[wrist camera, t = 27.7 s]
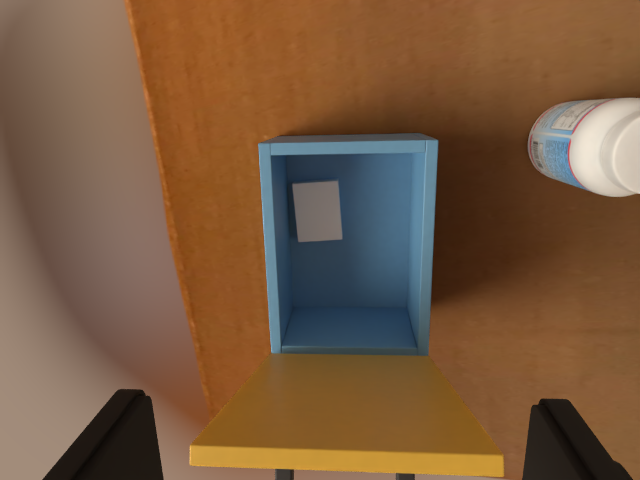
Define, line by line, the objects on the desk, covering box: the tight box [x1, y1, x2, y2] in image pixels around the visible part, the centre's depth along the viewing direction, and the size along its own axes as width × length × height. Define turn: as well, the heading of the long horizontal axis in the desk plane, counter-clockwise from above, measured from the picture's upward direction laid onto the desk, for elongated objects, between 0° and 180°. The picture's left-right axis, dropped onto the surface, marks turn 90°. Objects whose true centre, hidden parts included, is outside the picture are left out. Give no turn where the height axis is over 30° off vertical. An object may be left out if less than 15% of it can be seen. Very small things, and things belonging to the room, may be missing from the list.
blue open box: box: [258, 133, 438, 356], centre depth 35 cm, size 16×12×8 cm
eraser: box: [292, 178, 342, 242], centre depth 37 cm, size 1×5×4 cm
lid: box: [190, 353, 504, 480], centre depth 25 cm, size 16×12×6 cm
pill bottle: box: [528, 98, 640, 197], centre depth 30 cm, size 6×6×11 cm
